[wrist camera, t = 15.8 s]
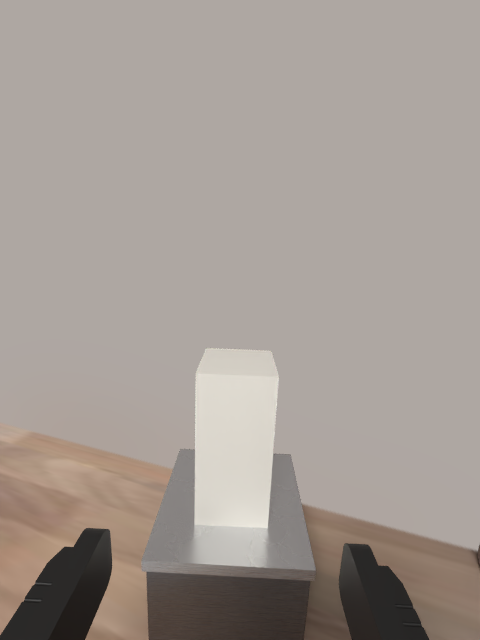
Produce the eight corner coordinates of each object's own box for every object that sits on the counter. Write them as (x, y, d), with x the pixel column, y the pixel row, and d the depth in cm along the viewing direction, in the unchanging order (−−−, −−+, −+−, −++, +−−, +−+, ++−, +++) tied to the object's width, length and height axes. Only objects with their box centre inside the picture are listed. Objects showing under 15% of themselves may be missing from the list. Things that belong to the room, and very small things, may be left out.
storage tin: (282, 541, 30) (290, 454, 28) (301, 689, 19) (316, 570, 17) (180, 535, 30) (180, 448, 28) (146, 680, 20) (141, 560, 18)
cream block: (263, 474, 25) (271, 350, 22) (267, 528, 20) (278, 376, 18) (204, 472, 25) (206, 347, 23) (194, 524, 20) (195, 373, 18)
